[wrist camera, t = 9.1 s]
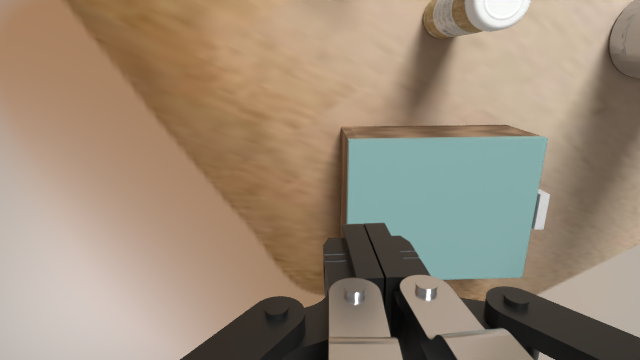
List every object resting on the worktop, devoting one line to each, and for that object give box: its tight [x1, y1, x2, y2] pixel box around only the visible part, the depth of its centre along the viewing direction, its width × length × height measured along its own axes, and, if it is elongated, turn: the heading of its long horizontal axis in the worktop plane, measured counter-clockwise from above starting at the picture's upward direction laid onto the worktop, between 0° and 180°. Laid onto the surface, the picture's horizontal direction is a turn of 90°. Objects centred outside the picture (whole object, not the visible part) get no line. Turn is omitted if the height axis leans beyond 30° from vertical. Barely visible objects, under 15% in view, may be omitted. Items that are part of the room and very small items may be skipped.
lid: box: [346, 136, 550, 280], centre depth 40 cm, size 21×16×2 cm
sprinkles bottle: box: [423, 0, 531, 39], centre depth 34 cm, size 5×5×14 cm
